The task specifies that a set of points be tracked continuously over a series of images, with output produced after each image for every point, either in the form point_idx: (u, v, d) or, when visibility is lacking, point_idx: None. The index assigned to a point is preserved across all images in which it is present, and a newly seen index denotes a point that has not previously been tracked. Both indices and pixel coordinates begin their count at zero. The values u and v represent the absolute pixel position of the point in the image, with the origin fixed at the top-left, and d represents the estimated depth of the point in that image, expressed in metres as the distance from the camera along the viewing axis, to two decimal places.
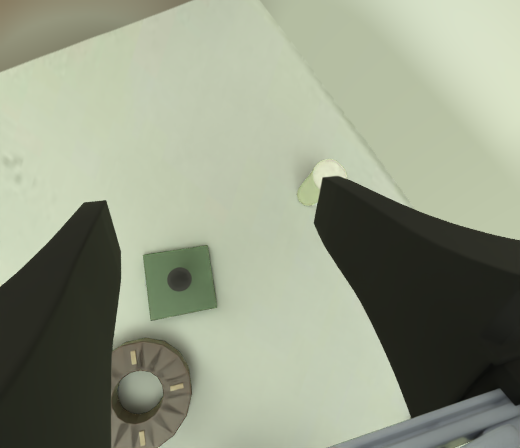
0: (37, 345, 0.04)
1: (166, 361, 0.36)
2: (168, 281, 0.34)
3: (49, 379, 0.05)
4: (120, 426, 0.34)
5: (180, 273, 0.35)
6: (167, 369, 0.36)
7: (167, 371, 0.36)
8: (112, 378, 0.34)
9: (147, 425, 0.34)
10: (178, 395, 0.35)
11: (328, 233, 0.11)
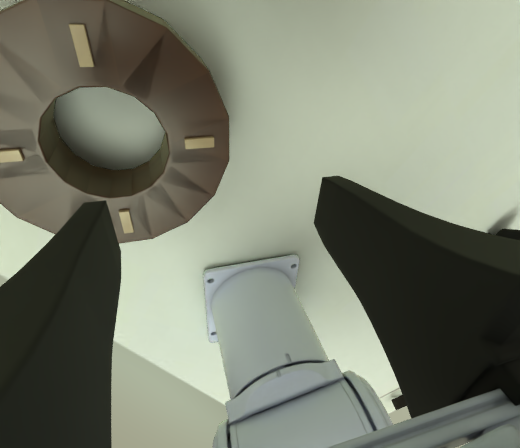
0: (37, 345, 0.04)
1: (177, 78, 0.14)
2: None
3: (49, 379, 0.05)
4: (75, 199, 0.15)
5: None
6: (179, 99, 0.14)
7: (178, 103, 0.14)
8: (28, 93, 0.12)
9: (135, 202, 0.16)
10: (201, 159, 0.16)
11: (328, 233, 0.11)
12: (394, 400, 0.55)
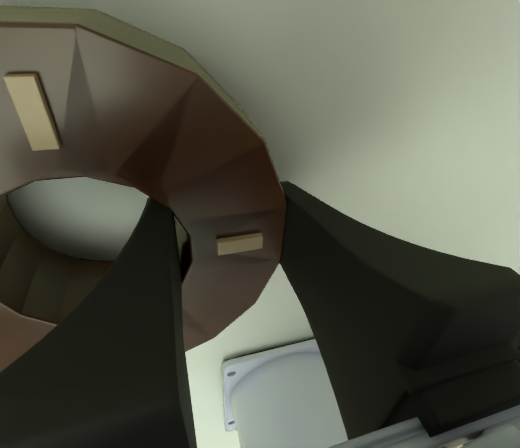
0: (172, 318, 0.05)
1: (210, 156, 0.08)
2: None
3: (179, 350, 0.05)
4: (41, 334, 0.10)
5: None
6: (211, 187, 0.08)
7: (209, 192, 0.08)
8: None
9: None
10: (240, 263, 0.10)
11: None
12: None
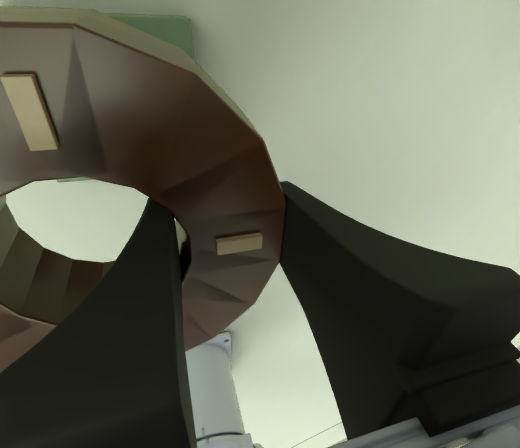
0: (173, 317, 0.05)
1: (208, 156, 0.08)
2: None
3: (180, 349, 0.05)
4: (41, 334, 0.10)
5: None
6: (210, 186, 0.08)
7: (208, 192, 0.08)
8: None
9: None
10: (240, 263, 0.10)
11: None
12: None
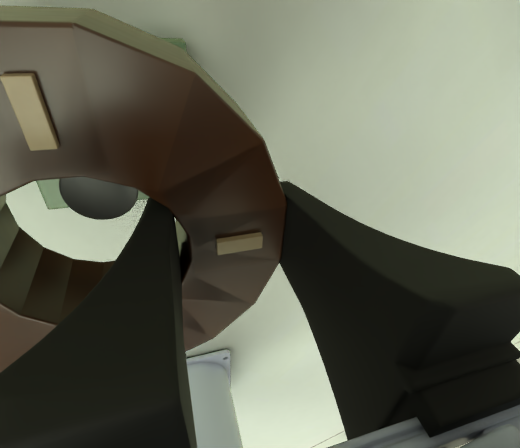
0: (172, 317, 0.05)
1: (209, 156, 0.08)
2: (64, 195, 0.11)
3: (179, 349, 0.05)
4: (41, 334, 0.10)
5: None
6: (210, 186, 0.08)
7: (208, 192, 0.08)
8: None
9: None
10: (240, 263, 0.10)
11: None
12: None
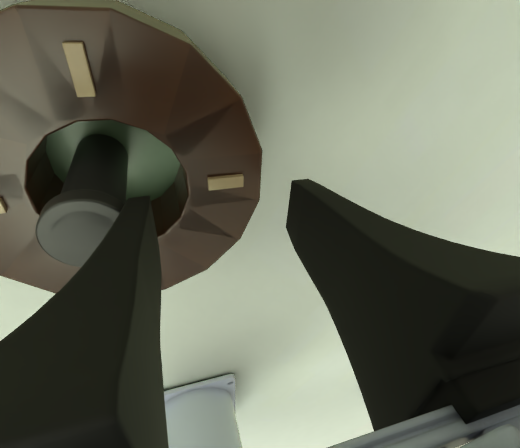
0: (130, 326, 0.05)
1: (201, 107, 0.11)
2: (43, 242, 0.09)
3: (138, 359, 0.05)
4: None
5: (90, 218, 0.09)
6: (202, 132, 0.11)
7: (201, 137, 0.11)
8: (10, 131, 0.09)
9: None
10: (227, 200, 0.13)
11: (298, 238, 0.11)
12: None
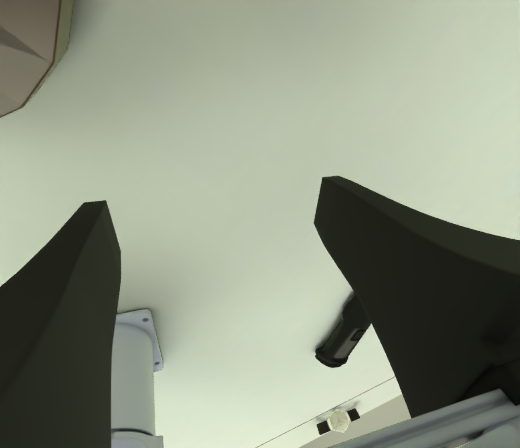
0: (37, 345, 0.04)
1: None
2: None
3: (50, 379, 0.05)
4: None
5: None
6: None
7: None
8: None
9: None
10: None
11: (328, 233, 0.11)
12: (318, 425, 0.55)
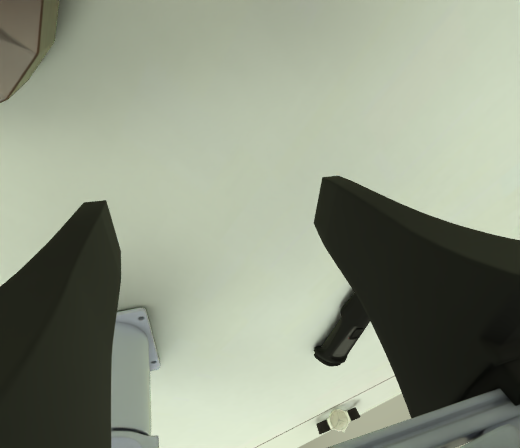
0: (37, 345, 0.04)
1: None
2: None
3: (49, 380, 0.05)
4: None
5: None
6: None
7: None
8: None
9: None
10: None
11: (328, 233, 0.11)
12: (318, 425, 0.55)
